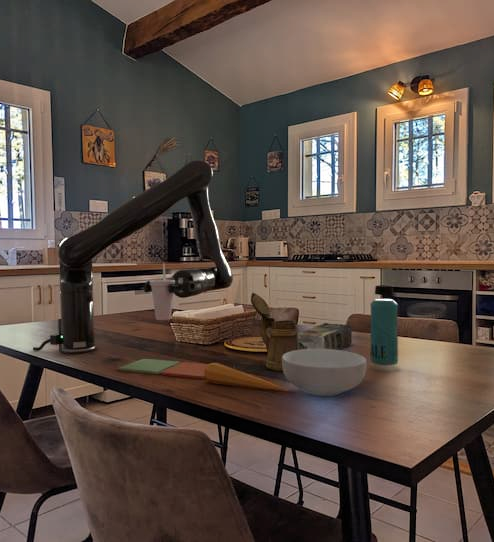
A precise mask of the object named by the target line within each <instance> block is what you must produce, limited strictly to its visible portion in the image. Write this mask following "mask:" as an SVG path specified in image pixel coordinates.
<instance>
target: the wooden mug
mask: <svg viewBox="0 0 494 542" xmlns="http://www.w3.org/2000/svg"><path fill="white" fill-rule="evenodd" d="M250 303H251V305H252V308H253V309H254V310H255V312H256V313H257V314H258V315H259V316H260V317H261V319H260V322H259V325H258V326H259V328H258V330H259V336H260V337H261V340H262V342H263V344H264V346H265V348H266V352H267V357H266V358H265V368H267V369H269V370H272V371H278V372H283V368H282V356H283V355H284V354H285V353H287V352H290V351H295V350H300V347H299V341H298V333H299V332H300V331H299V328H298V327H297V321H296V320H294V319H293V320H292V319H283V320H275V318H274V317H271V315H270V311H271V310H270V307H269V305H268V303H267V302H266V301H265V299H264V298H262V297H261V296H260V295H259V294H257V293H255V292H252V293H251V296H250ZM268 328H269V329H268ZM267 329H268V334H269V335H268V334H267Z"/></svg>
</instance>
